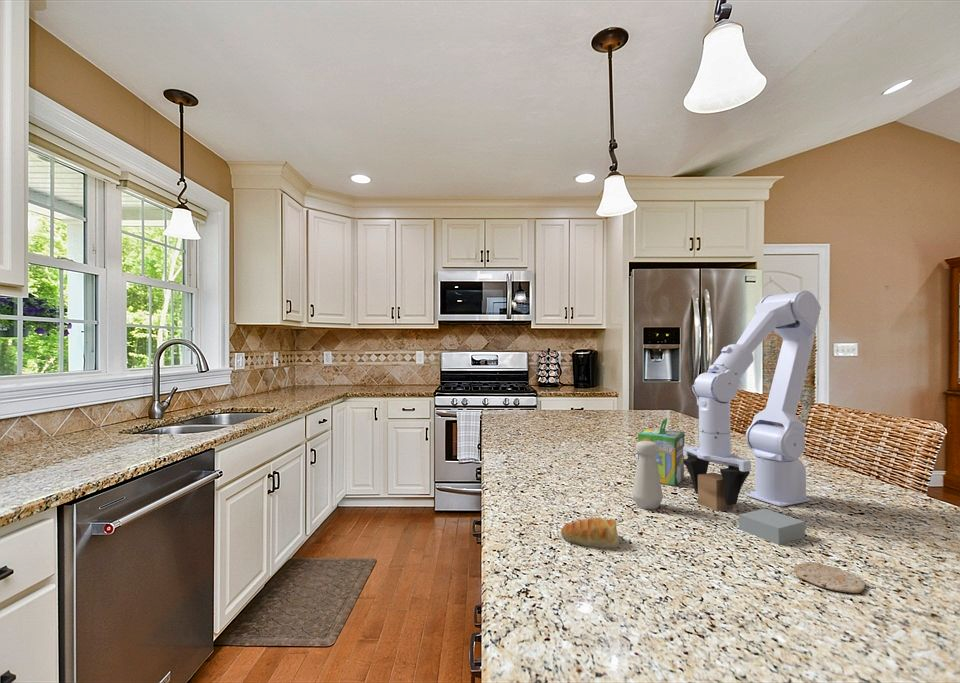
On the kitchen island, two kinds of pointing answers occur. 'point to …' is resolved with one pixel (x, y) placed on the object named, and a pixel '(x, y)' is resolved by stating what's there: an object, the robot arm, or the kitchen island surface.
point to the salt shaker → (647, 477)
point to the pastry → (592, 533)
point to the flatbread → (829, 577)
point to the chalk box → (667, 452)
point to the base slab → (772, 526)
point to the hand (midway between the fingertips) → (715, 498)
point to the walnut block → (712, 491)
